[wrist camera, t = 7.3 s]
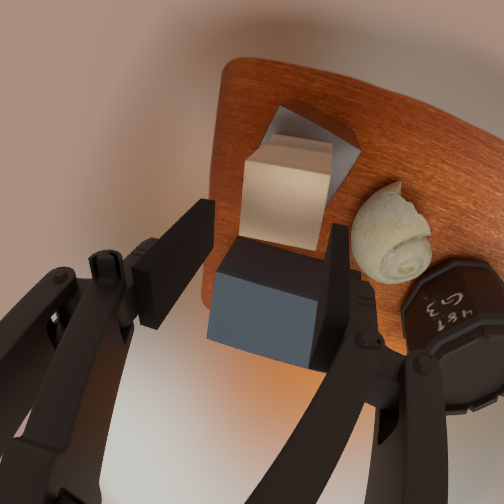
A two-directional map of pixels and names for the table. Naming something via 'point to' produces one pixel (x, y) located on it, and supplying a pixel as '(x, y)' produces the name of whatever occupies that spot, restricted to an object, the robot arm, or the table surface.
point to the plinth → (317, 137)
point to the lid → (262, 318)
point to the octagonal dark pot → (460, 330)
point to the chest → (276, 266)
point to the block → (286, 191)
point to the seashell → (390, 237)
